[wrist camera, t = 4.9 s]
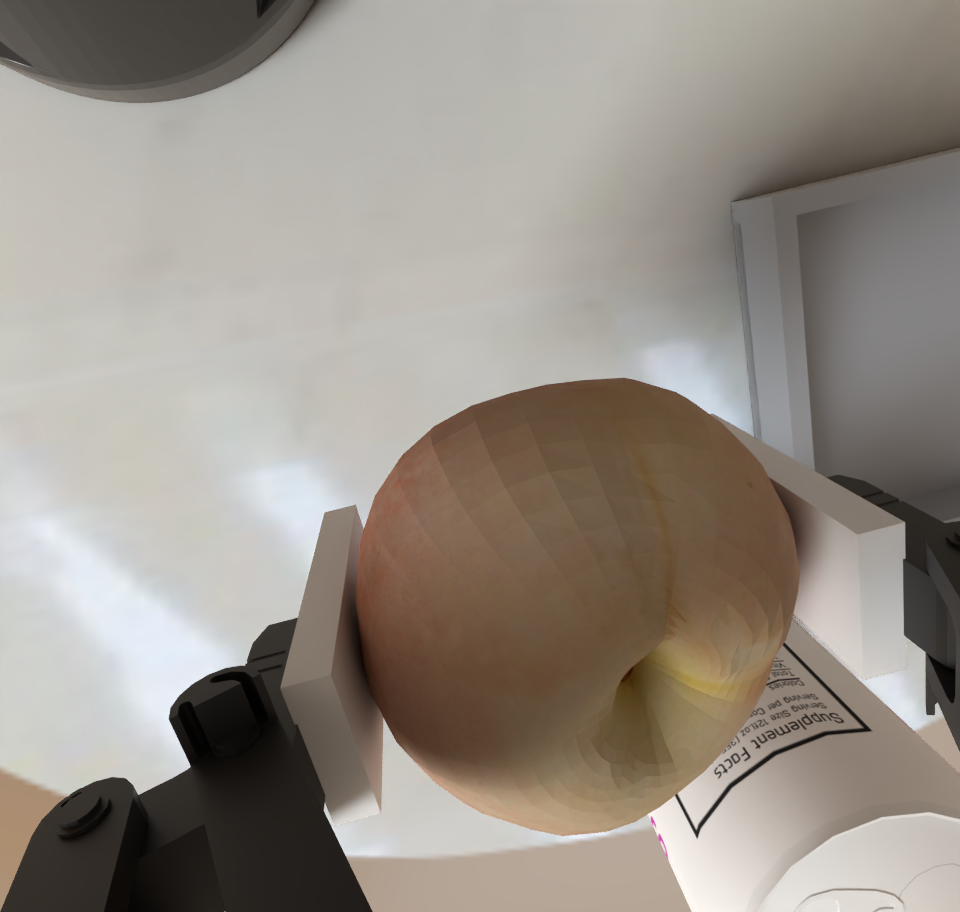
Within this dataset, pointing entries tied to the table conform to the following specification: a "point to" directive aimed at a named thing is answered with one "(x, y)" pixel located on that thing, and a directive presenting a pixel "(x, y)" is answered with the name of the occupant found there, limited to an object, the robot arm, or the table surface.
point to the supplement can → (818, 804)
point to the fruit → (573, 600)
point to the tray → (859, 326)
